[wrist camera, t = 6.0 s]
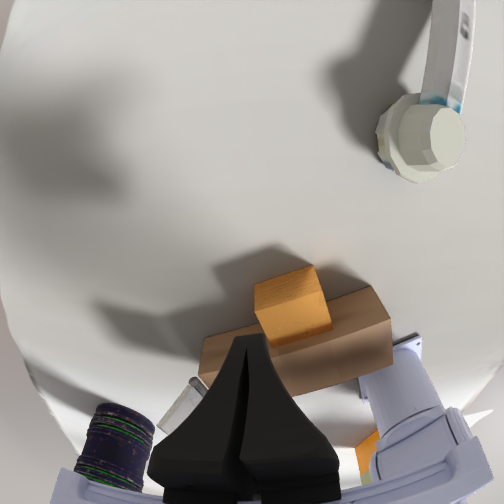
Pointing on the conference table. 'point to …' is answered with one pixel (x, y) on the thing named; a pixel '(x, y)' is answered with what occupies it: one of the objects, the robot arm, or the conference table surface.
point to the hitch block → (320, 347)
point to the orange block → (291, 307)
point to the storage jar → (116, 447)
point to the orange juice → (366, 456)
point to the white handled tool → (433, 100)
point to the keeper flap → (183, 406)
